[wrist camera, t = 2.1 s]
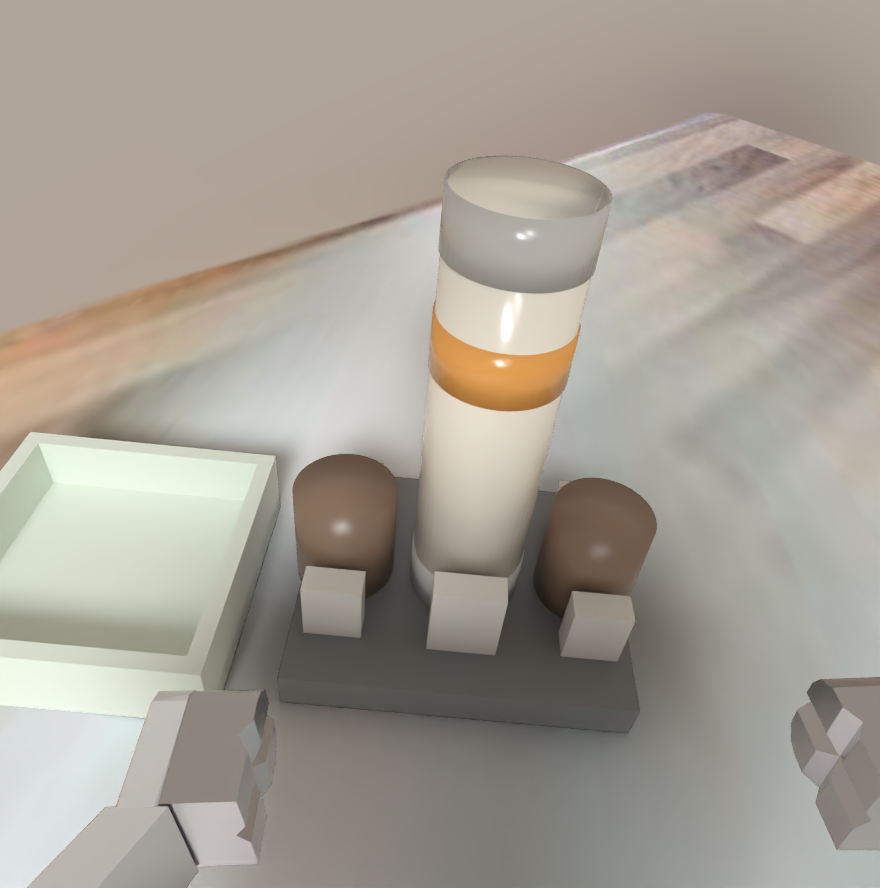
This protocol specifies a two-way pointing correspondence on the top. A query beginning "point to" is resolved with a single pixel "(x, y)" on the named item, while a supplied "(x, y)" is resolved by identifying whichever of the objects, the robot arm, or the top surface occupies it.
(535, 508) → the panel
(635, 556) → the cylinder
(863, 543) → the top surface
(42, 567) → the tray
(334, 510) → the cylinder
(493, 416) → the marked fuse
